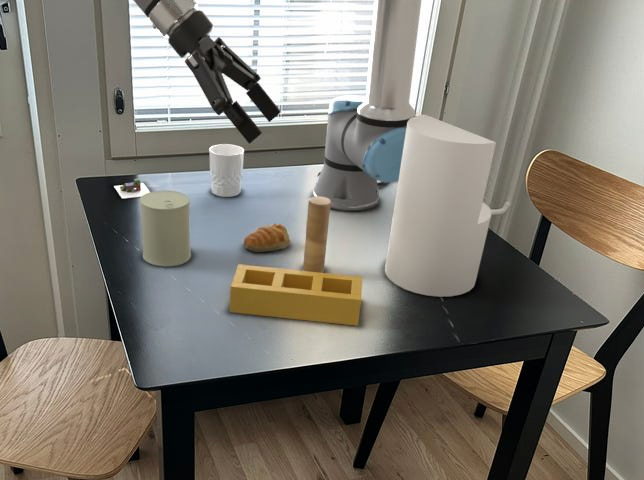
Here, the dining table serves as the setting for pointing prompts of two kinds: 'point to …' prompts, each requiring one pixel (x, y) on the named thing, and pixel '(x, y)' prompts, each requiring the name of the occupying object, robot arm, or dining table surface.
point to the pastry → (267, 239)
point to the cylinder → (439, 209)
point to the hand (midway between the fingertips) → (266, 127)
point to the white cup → (226, 169)
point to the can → (165, 228)
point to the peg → (316, 234)
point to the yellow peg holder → (296, 294)
